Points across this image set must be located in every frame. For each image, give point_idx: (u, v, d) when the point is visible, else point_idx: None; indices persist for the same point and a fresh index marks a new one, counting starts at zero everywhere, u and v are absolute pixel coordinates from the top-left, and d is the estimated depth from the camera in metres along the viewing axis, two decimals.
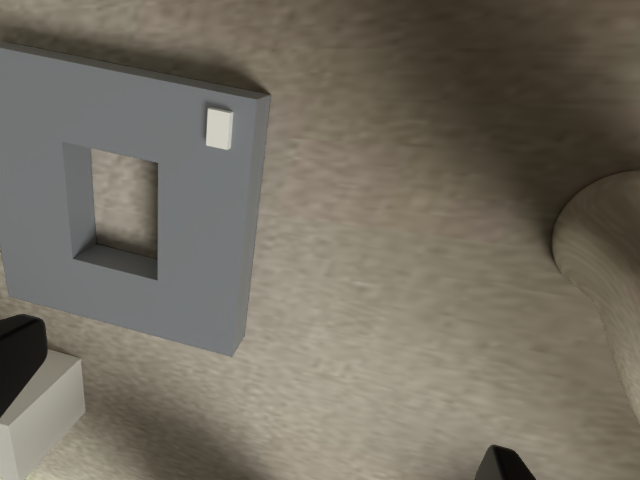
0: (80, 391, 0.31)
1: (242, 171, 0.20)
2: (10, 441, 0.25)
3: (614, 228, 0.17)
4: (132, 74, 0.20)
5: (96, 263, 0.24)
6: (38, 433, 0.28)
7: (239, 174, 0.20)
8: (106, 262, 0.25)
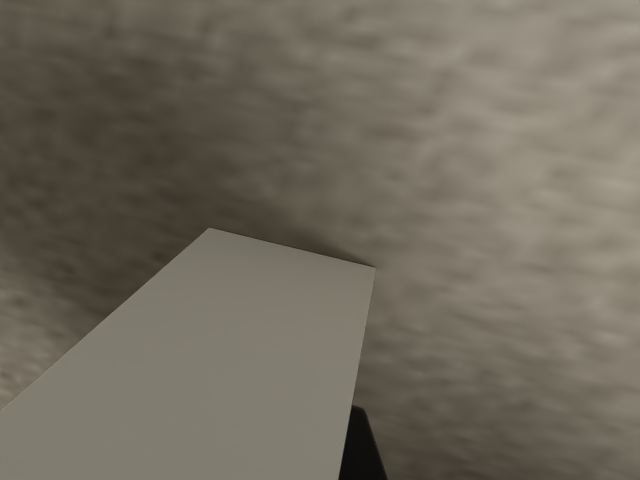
0: None
1: None
2: None
3: None
4: None
5: None
6: None
7: None
8: None
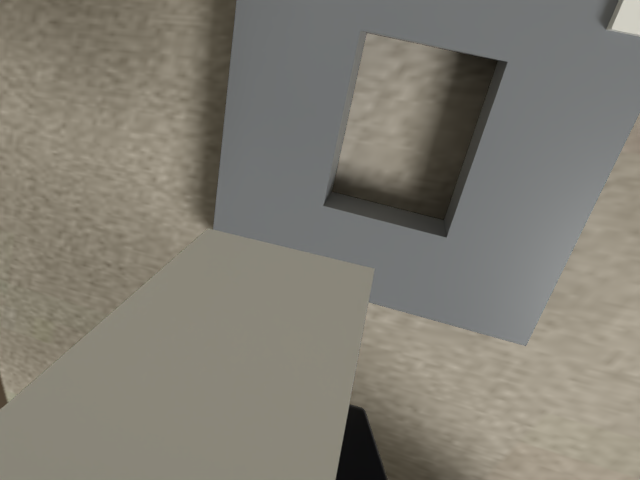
0: None
1: None
2: None
3: None
4: None
5: (356, 212, 0.18)
6: None
7: (638, 78, 0.14)
8: (366, 212, 0.18)
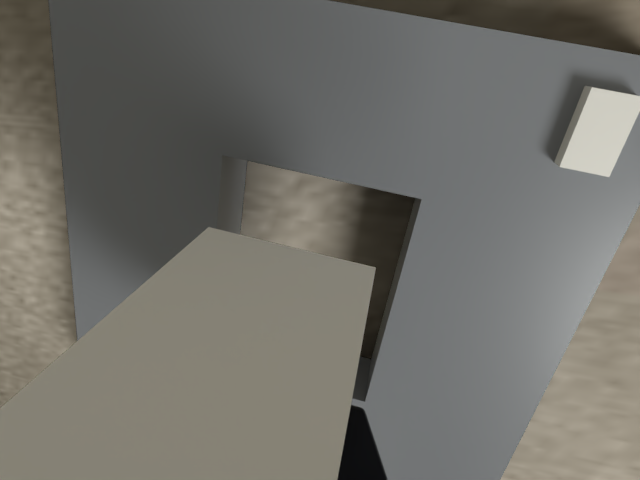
0: None
1: (612, 219, 0.10)
2: None
3: None
4: (406, 15, 0.09)
5: None
6: None
7: (603, 225, 0.10)
8: None
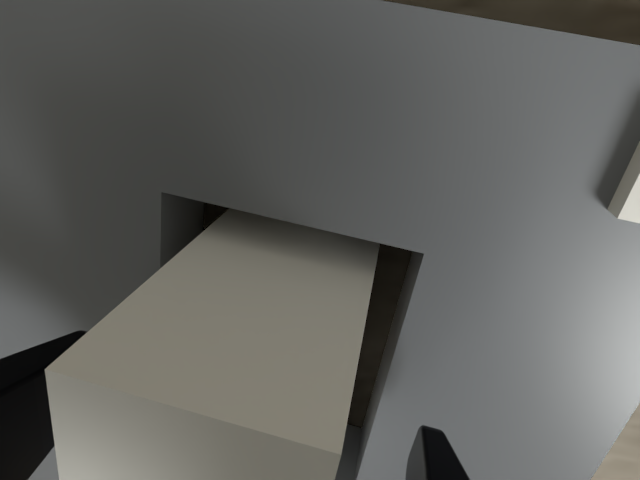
0: None
1: None
2: None
3: None
4: (403, 6, 0.07)
5: None
6: None
7: None
8: None
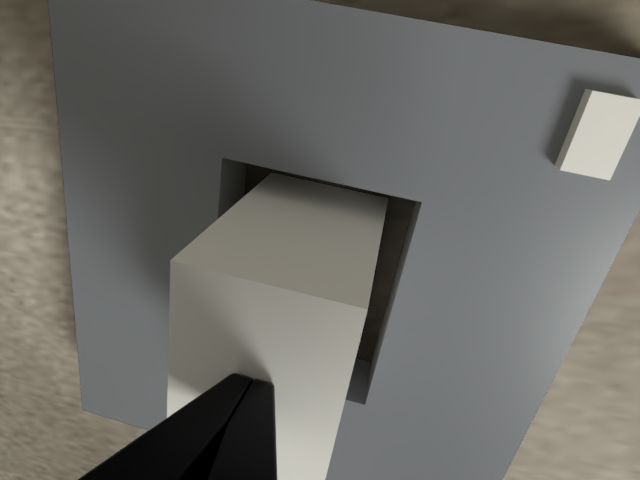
0: None
1: (613, 222, 0.10)
2: (348, 366, 0.08)
3: None
4: (406, 18, 0.09)
5: None
6: None
7: (604, 228, 0.10)
8: None
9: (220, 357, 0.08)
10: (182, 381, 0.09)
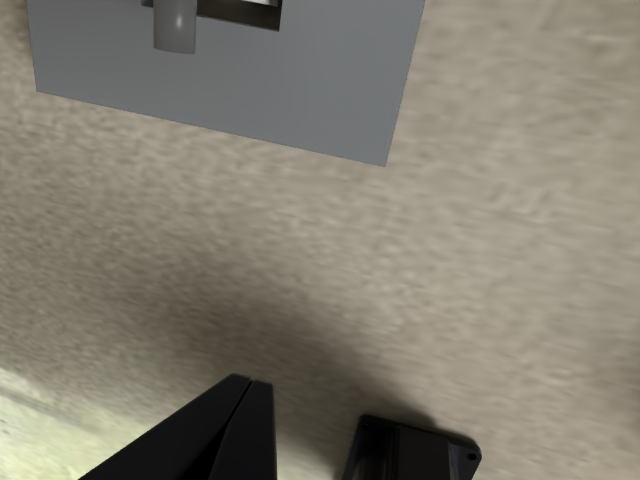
0: None
1: None
2: None
3: None
4: None
5: None
6: None
7: None
8: None
9: None
10: None
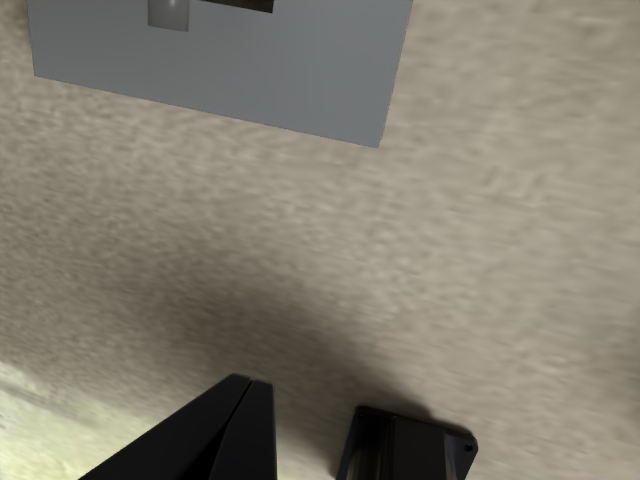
0: None
1: None
2: None
3: None
4: None
5: None
6: None
7: None
8: None
9: None
10: None
